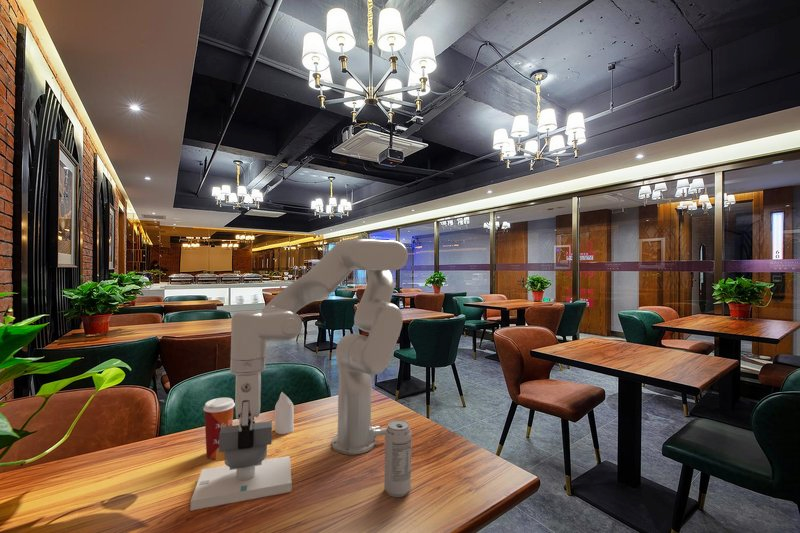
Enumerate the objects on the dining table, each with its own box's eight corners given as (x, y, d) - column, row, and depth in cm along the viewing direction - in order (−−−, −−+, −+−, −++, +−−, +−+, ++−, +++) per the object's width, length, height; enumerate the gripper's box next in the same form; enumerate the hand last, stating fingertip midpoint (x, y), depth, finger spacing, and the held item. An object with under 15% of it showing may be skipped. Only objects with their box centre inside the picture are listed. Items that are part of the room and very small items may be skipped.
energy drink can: (404, 480, 84) (406, 417, 84) (414, 495, 78) (415, 428, 78) (381, 485, 82) (382, 421, 82) (389, 501, 76) (390, 432, 76)
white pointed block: (298, 391, 110) (284, 396, 105) (297, 429, 109) (283, 436, 105) (284, 387, 112) (270, 392, 108) (283, 424, 112) (269, 431, 107)
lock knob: (271, 444, 87) (272, 416, 87) (270, 463, 79) (271, 432, 79) (219, 451, 83) (220, 422, 83) (213, 472, 75) (213, 439, 75)
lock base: (289, 463, 90) (290, 440, 90) (291, 491, 79) (291, 464, 79) (202, 477, 83) (202, 452, 83) (190, 510, 72) (191, 481, 72)
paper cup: (220, 463, 90) (222, 408, 90) (195, 459, 91) (196, 405, 91) (240, 448, 97) (241, 397, 98) (216, 444, 99) (217, 395, 99)
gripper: (264, 373, 75) (262, 458, 75) (266, 355, 90) (264, 425, 90) (225, 376, 72) (223, 464, 72) (234, 357, 88) (232, 429, 88)
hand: (246, 442), depth 81 cm, fingers closed on lock knob, 3 cm apart
